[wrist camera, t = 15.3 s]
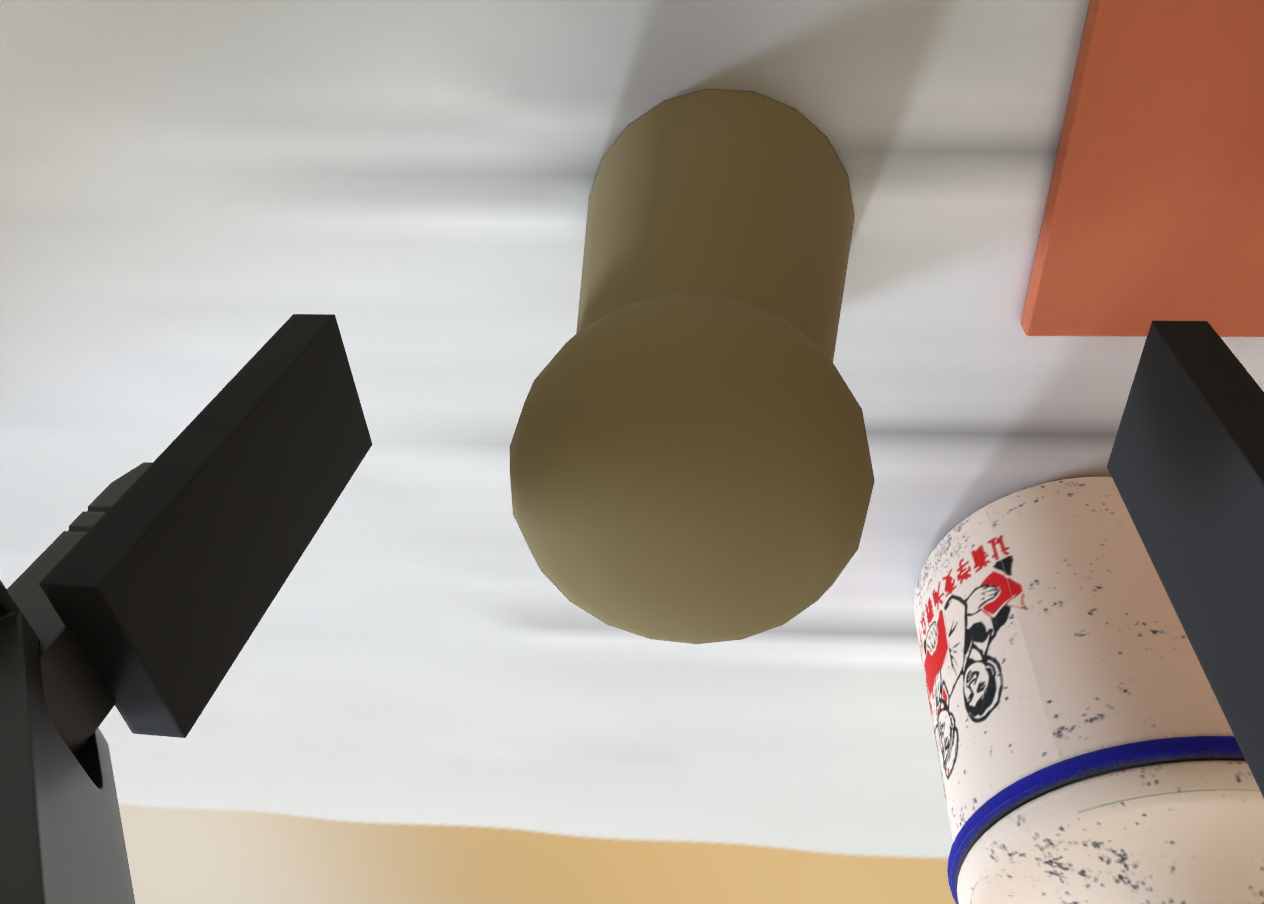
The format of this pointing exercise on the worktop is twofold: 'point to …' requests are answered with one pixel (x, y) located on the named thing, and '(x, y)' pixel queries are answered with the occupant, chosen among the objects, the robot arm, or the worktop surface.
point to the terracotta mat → (1157, 175)
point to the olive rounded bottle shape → (701, 382)
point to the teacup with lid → (1077, 715)
